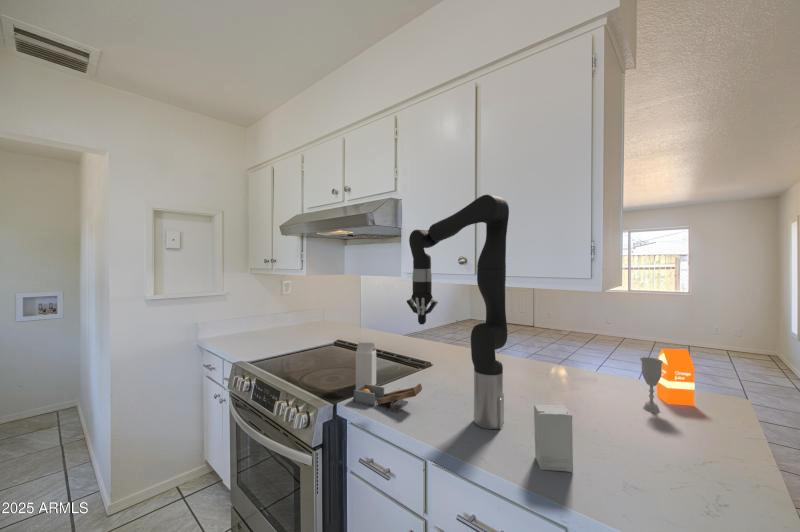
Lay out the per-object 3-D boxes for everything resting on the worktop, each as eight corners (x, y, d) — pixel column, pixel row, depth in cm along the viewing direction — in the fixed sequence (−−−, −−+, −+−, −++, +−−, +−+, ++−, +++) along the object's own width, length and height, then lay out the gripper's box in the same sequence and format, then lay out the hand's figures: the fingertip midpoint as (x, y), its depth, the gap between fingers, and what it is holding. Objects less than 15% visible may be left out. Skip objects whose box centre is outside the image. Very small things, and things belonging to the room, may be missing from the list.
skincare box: (566, 460, 89) (566, 404, 89) (574, 474, 83) (574, 414, 83) (533, 457, 91) (533, 402, 90) (538, 470, 85) (538, 412, 85)
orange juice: (694, 405, 124) (694, 352, 124) (667, 403, 126) (667, 351, 126) (681, 397, 132) (681, 347, 131) (656, 395, 133) (656, 346, 133)
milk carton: (371, 390, 139) (371, 344, 139) (355, 388, 140) (355, 343, 140) (376, 384, 146) (376, 341, 146) (360, 382, 147) (360, 340, 147)
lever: (428, 385, 127) (426, 379, 127) (416, 396, 116) (414, 389, 117) (391, 393, 134) (390, 387, 134) (377, 404, 123) (375, 397, 124)
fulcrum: (408, 402, 126) (408, 395, 126) (397, 412, 118) (397, 404, 118) (396, 400, 128) (396, 393, 128) (385, 409, 120) (385, 401, 120)
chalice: (642, 403, 125) (642, 356, 125) (664, 409, 121) (665, 359, 121) (637, 409, 120) (638, 360, 120) (661, 415, 116) (661, 364, 115)
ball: (372, 397, 130) (372, 388, 130) (367, 400, 127) (367, 391, 127) (364, 395, 131) (364, 387, 131) (359, 399, 128) (359, 390, 128)
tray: (384, 398, 130) (384, 387, 130) (373, 406, 123) (373, 394, 123) (364, 394, 134) (364, 383, 134) (353, 401, 127) (353, 390, 127)
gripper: (441, 280, 132) (441, 324, 132) (410, 279, 138) (410, 321, 138) (434, 281, 125) (434, 327, 125) (402, 280, 131) (402, 324, 131)
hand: (421, 324), depth 131 cm, fingers closed
